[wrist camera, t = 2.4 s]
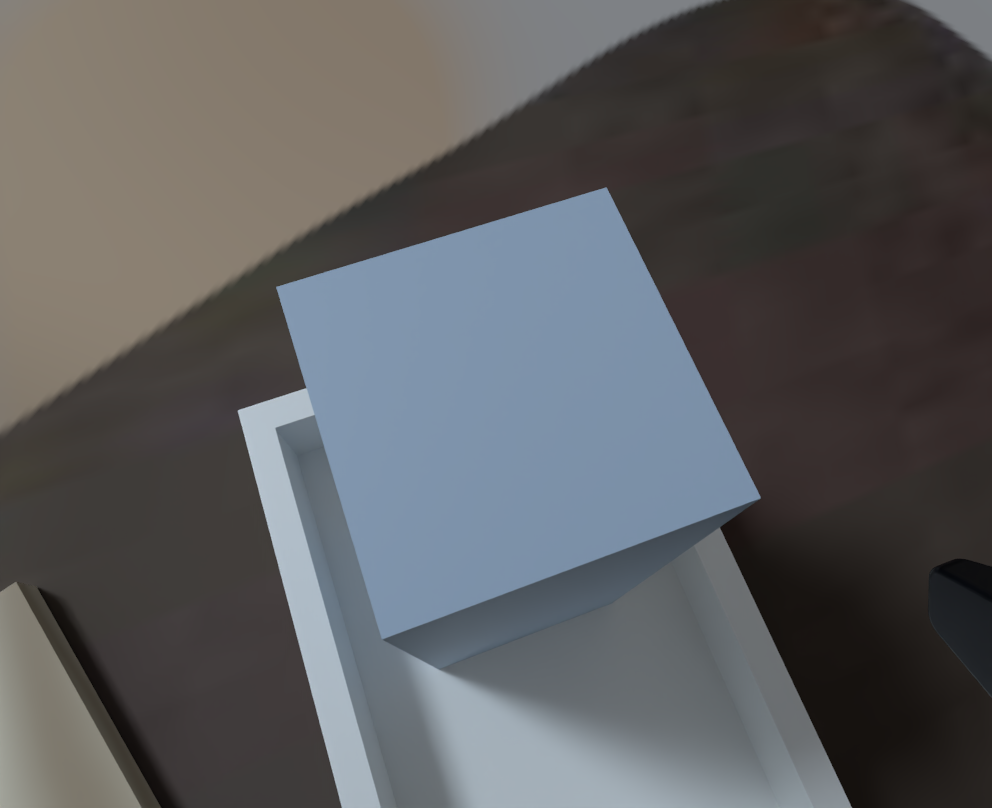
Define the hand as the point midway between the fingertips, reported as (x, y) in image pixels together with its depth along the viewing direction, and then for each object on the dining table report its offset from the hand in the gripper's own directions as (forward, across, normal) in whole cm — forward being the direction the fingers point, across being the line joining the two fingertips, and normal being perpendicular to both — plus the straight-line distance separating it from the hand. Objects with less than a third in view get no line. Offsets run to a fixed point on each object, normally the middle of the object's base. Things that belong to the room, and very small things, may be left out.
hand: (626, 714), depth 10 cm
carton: (+11, 0, +5) cm, 12 cm away
